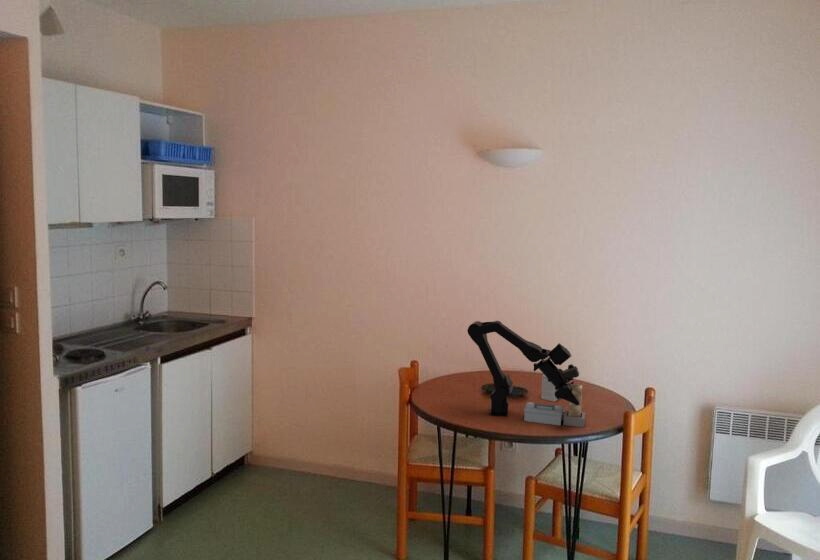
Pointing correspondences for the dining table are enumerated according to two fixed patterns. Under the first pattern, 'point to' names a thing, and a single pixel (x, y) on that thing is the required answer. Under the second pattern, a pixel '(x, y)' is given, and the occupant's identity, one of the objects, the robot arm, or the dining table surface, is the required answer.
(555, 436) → the dining table surface
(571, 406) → the wooden block
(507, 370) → the dining table surface
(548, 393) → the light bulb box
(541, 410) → the toolbox
